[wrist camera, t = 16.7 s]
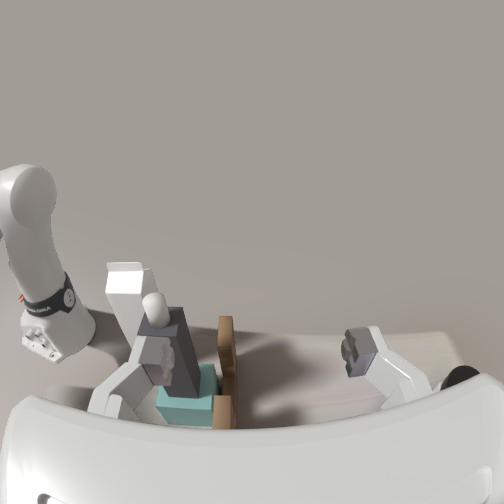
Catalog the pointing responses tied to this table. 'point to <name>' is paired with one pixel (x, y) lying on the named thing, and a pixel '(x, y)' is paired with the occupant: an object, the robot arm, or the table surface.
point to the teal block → (191, 402)
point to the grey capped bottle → (173, 344)
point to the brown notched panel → (226, 377)
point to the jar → (456, 377)
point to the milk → (129, 294)
